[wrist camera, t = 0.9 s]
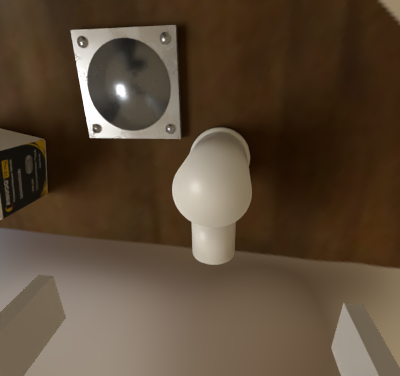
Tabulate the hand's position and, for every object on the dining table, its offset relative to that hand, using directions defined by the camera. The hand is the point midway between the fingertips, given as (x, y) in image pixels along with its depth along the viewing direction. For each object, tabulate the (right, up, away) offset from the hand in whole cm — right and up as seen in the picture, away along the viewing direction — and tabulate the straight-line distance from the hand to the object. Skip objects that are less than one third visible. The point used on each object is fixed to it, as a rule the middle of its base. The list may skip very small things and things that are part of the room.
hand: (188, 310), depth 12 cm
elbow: (+3, +7, +16) cm, 18 cm away
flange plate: (-6, +16, +14) cm, 22 cm away
